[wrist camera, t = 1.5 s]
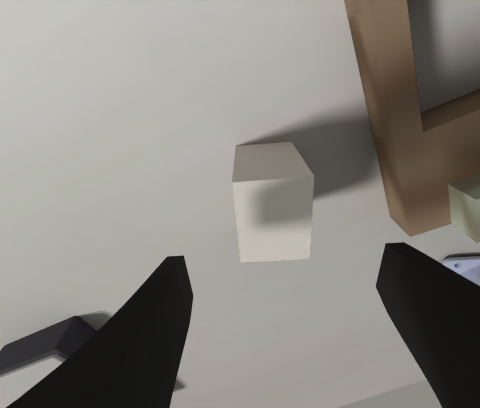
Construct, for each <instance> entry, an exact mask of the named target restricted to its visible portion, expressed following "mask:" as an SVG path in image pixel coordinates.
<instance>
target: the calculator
mask: <svg viewBox="0 0 480 408" xmlns="http://www.w3.org/2000/svg"><path fill="white" fill-rule="evenodd" d="M96 332H97V331H96V330H95V329H94V328H93V327H91V326H90V325H89V324H88V323H86V322H85V321H84V320H83V319H81V318H80V317H78V316H73V317H71V318H68V319H66V320H64V321H61V322H59V323H57V324H54V325H52V326H50V327H47V328H45V329H43V330H40V331H38V332H35V333H33V334H31V335H28V336H26V337H24V338H21V339H19V340H17V341H14V342H12V343H9V344H7V345H5V346H4V347H3V348H2V349H1V351H0V396H2V397H4V398H7V399H9V400H11V401H16V400H17V399H18V398H19V397H21V396H22V395H23V394H24V393H26V392H27V391H28V390H29V389H31V388H32V387H33V386H34V385H36V384H37V383H38V382H39V381H41V380H42V379H43V378H44V377H46V376H47V375H48V374H49V373H51V372H52V371H53V370H54V369H56V368H57V367H58V366H59V365H60V364H62V363H63V362H64V361H65V360H66V359H67V358H69V357H70V356H71V355H72V354H73V353H74V352H75V351H77V350H78V349H79V348H80V347H81V346H82V345H83V344H84V343H86V342H87V341H88V340H89V339H90V338H91V337H92V336H93V335H94V334H95V333H96Z"/></svg>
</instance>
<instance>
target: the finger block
mask: <svg viewBox="0 0 480 408" xmlns="http://www.w3.org/2000/svg"><path fill="white" fill-rule="evenodd" d="M232 187H233V196H234V205H235V215H236V224H237V233H238V242H239V252H240V261H241V263H242V262H259V261H277V260H295V259H310V243H311V226H312V209H313V193H314V175H313V173H312V172H311V170H310V169H309V167H308V166H307V164H306V163H305V161H304V160H303V158H302V157H301V155H300V154H299V152H298V151H297V149H296V148H295V146H294V145H293V143H292V142H279V143H267V144H254V145H242V146H236V148H235V158H234V168H233V178H232Z"/></svg>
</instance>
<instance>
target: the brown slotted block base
mask: <svg viewBox="0 0 480 408" xmlns="http://www.w3.org/2000/svg"><path fill="white" fill-rule="evenodd" d="M344 1H345V6H346V10H347V15H348V20H349V25H350V29H351V34H352V39H353V43H354V48H355V53H356V57H357V62H358V67H359V71H360V76H361V81H362V86H363V90H364V95H365V100H366V104H367V109H368V114H369V118H370V123H371V128H372V133H373V137H374V142H375V147H376V151H377V156H378V161H379V165H380V170H381V175H382V180H383V184H384V189H385V194H386V198H387V203H388V208H389V212H390V217H391V218H392V219H393V220H394V221H395V222H396V223H397V224H398V225H399V226H400V227H401V228H402V229H403V230H404V231H405V232H406V233H407V234H408V235H409V236H410V237H411V236H414V235H417V234H421V233H424V232H427V231H430V230H433V229H436V228H439V227H442V226H445V225H448V224H453V225H454V226H455V227H457V228H458V229H459V230H461V231H462V232H463V233H465V234H466V235H467V236H469V237H470V238H471V239H473V240H474V241H475V242H477V243H478V242H480V89H479V90H476V91H474V92H471V93H469V94H467V95H464V96H462V97H459V98H457V99H455V100H452V101H450V102H447V103H445V104H442V105H440V106H438V107H435V108H433V109H430V110H428V111H426V112H423V113H420V105H419V97H418V88H417V80H416V72H415V64H414V55H413V47H412V39H411V30H410V22H409V14H408V6H407V0H344Z"/></svg>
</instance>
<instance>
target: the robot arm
mask: <svg viewBox="0 0 480 408" xmlns="http://www.w3.org/2000/svg"><path fill="white" fill-rule="evenodd" d="M376 288H377V290H378V292H379V295H380V297H381V300H382V302H383V304H384V306H385V308H386V311H387V313H388V315H389V316H390V318H391V320H392V322H393V323H394V325H395V327H396V328H397V330H398V332H399V333H400V335H401V337H402V338H403V340H404V342H405V343H406V345H407V347H408V348H409V350H410V352H411V353H412V355H413V357H414V358H415V360H416V362H417V363H418V365H419V367H420V368H421V370H422V372H423V373H424V375H425V377H426V378H427V380H428V382H429V384H430V385H431V387H432V389H433V391H434V392H435V394H436V396H437V398H438V400H439V402H440V404H441V406H442V408H480V256H473V257H455V258H447V259H445V260H444V261H443V262H442V264H441V263H439V262H438V261H436V260H434V259H433V258H431V257H429V256H427V255H426V254H424V253H422V252H420V251H419V250H417V249H415V248H413V247H412V246H410V245H408V244H406V243H404V242H402V243H386V244H385V249H384V253H383V257H382V262H381V266H380V270H379V274H378V279H377V283H376ZM192 302H193V292H192V288H191V284H190V280H189V276H188V272H187V268H186V263H185V259H184V256H170V257H167V258H166V259H165V260H164V261H163V262H162V263H161V264H160V265H159V266H158V268H157V269H156V270H155V271H154V272H153V273H152V274H151V276H150V277H149V278H148V279H147V280H146V281H145V282H144V283H143V285H142V286H141V287H140V288H139V289H138V290H137V291H136V292H135V293H134V294H133V296H132V297H131V298H130V299H129V300H128V301H127V302H126V303H125V304H124V305H123V306H122V307H121V308H120V309H119V310H118V311H117V312H116V313H115V314H114V315H113V316H112V317H111V318H110V319H109V320H108V322H107V323H106V324H105V325H104V326H103V327H102V328H101V329H99V330H98V331H97V332H96V333H95V334H94V335H93V336H92V337H91V338H90V339H89V340H88V341H87V342H86V343H84V344H83V345H82V346H81V347H80V348H79V349H78V350H77V351H75V352H74V353H73V354H72V355H71V356H70V357H69V358H67V359H66V360H65V361H64V362H63V363H62V364H60V365H59V366H58V367H57V368H56V369H54V370H53V371H52V372H51V373H49V374H48V375H47V376H46V377H44V378H43V379H42V380H41V381H39V382H38V383H37V384H36V385H34V386H33V387H32V388H31V389H29V390H28V391H27V392H26V393H24V394H23V395H22V396H21V397H19V398H18V399H17V400H16V401H14V402H13V403H12V404H10V405H9V406H8V407H6V408H169V407H170V402H171V398H172V393H173V389H174V385H175V381H176V377H177V373H178V369H179V365H180V361H181V357H182V353H183V349H184V345H185V341H186V336H187V332H188V328H189V324H190V318H191V310H192Z"/></svg>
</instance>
